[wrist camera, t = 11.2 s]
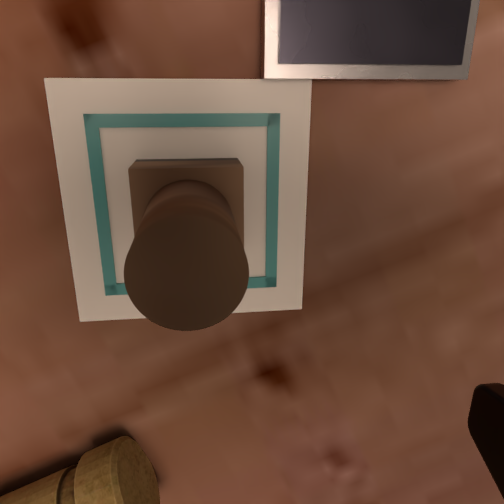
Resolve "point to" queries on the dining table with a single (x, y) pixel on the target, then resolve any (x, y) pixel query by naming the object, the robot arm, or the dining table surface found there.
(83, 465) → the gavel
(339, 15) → the ink pad
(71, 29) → the dining table surface
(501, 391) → the robot arm
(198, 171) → the stamp
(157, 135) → the print card
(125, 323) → the dining table surface
